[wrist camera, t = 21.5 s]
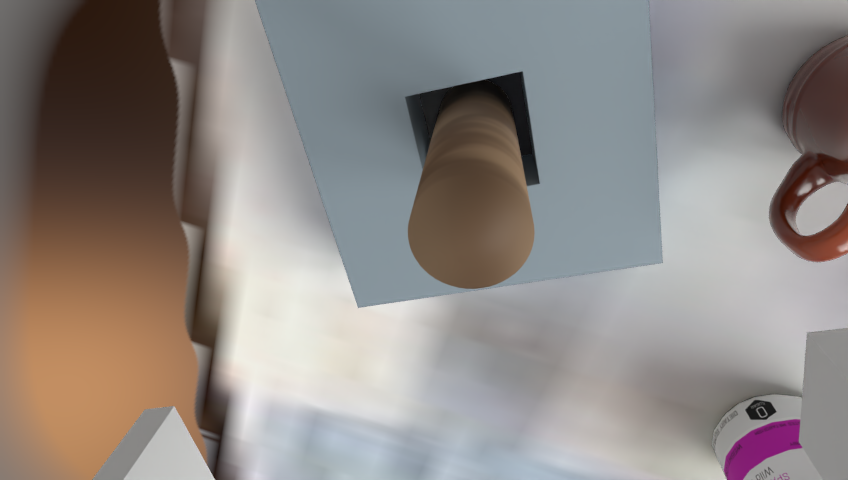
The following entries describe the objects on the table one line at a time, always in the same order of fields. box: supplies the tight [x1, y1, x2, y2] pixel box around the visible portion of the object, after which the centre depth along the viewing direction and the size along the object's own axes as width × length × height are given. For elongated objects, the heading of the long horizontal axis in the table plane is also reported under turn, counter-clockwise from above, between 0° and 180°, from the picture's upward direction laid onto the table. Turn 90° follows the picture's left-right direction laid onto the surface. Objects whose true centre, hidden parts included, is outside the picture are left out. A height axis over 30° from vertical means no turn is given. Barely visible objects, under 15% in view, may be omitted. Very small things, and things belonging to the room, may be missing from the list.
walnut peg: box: [408, 80, 535, 289], centre depth 27 cm, size 4×4×16 cm
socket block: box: [255, 0, 663, 308], centre depth 32 cm, size 18×18×5 cm
